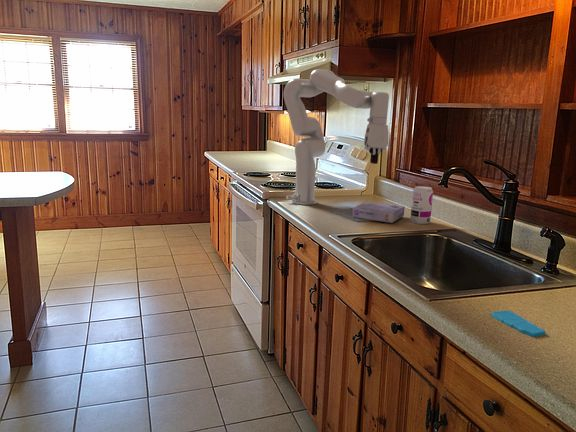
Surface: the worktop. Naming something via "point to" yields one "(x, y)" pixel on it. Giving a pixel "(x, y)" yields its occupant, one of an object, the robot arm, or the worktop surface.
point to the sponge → (518, 323)
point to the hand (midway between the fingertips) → (373, 163)
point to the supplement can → (421, 205)
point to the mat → (349, 214)
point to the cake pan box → (378, 212)
